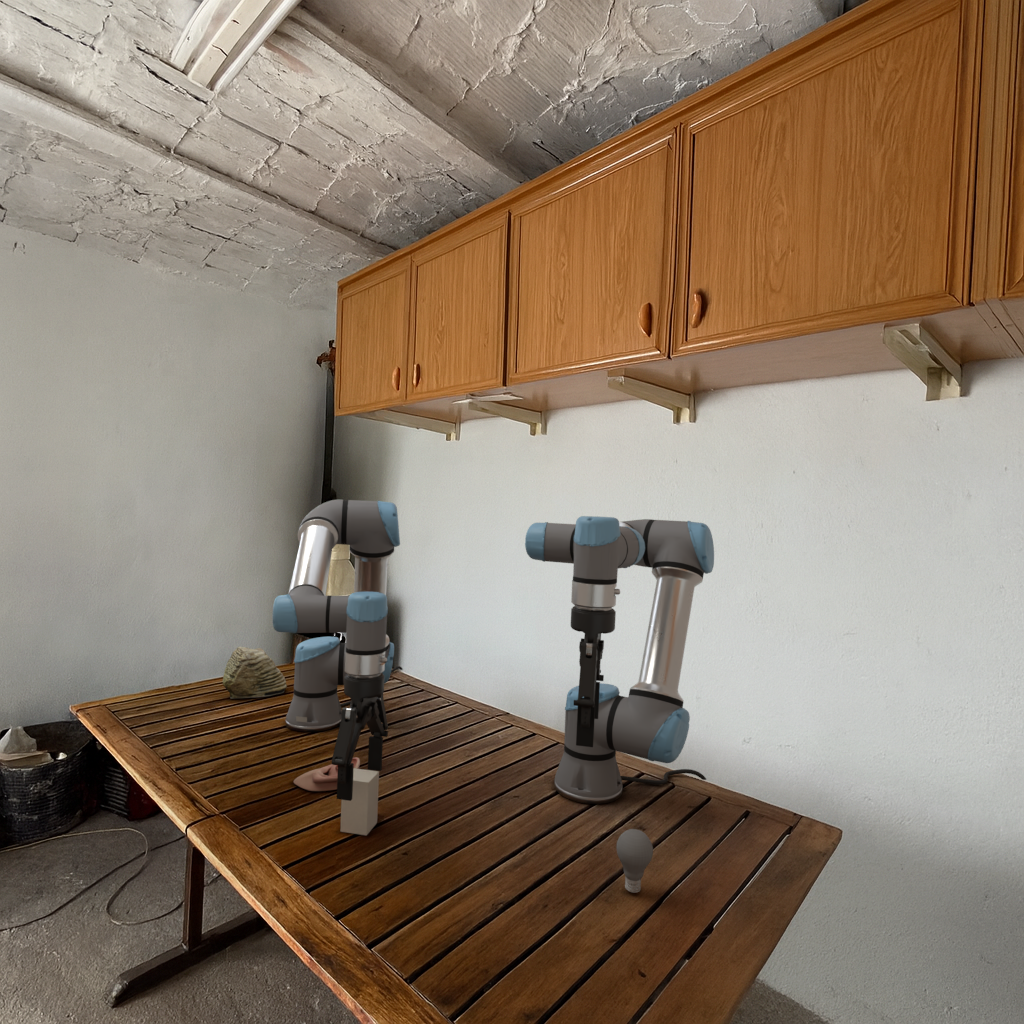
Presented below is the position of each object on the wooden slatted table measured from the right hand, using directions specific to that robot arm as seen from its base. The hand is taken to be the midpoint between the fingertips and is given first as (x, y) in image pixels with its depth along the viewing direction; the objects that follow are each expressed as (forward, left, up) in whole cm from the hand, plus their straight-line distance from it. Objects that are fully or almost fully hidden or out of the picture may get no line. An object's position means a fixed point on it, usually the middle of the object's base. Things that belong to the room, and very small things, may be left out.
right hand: (587, 731), depth 108 cm
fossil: (+48, -119, -26) cm, 131 cm away
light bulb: (-6, +6, -26) cm, 27 cm away
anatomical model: (+35, -51, -26) cm, 67 cm away
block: (+32, -29, -26) cm, 51 cm away
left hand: (+32, -29, -17) cm, 47 cm away
